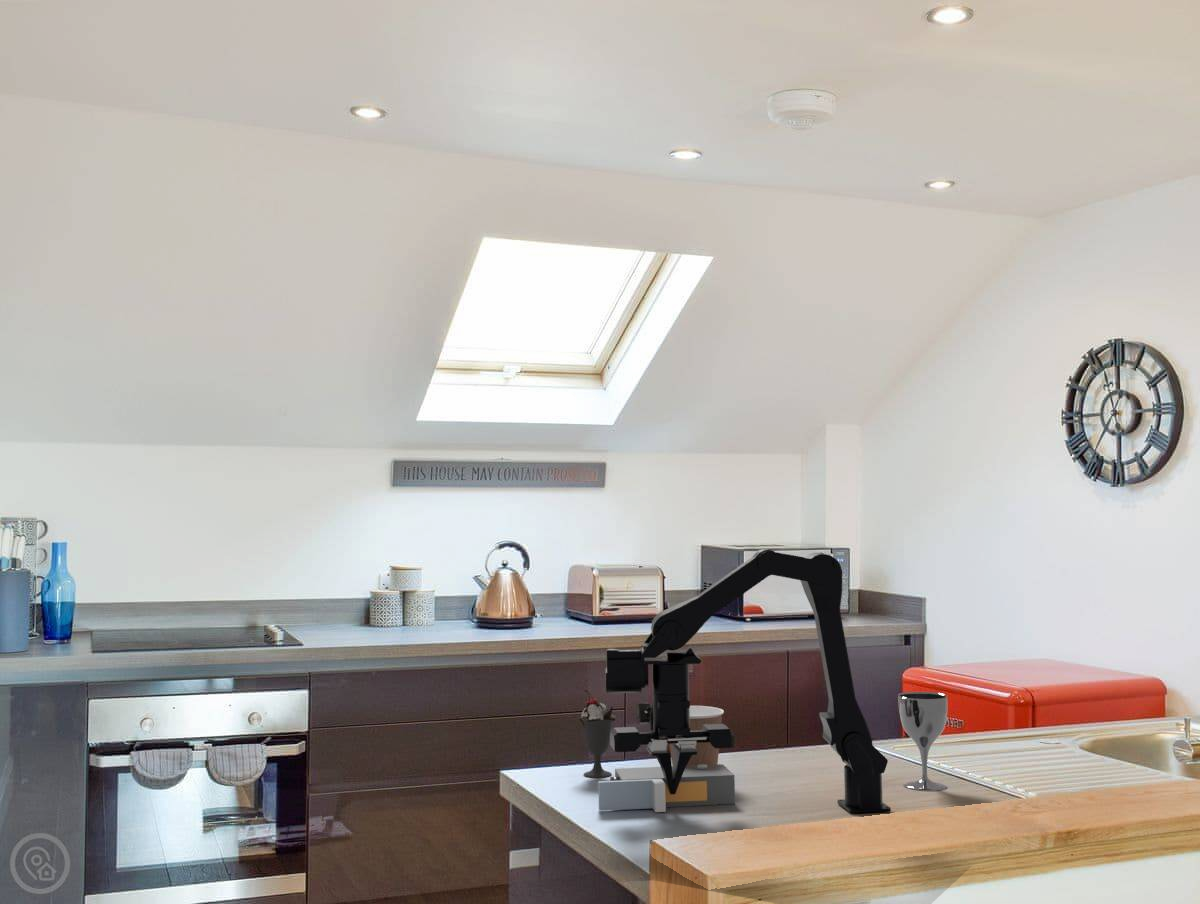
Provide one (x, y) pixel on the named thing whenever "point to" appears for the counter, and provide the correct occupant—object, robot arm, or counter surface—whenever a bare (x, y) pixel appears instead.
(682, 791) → the sliding door box
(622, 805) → the side door
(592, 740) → the sundae
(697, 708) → the coffee cup
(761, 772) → the counter surface
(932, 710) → the wine glass
